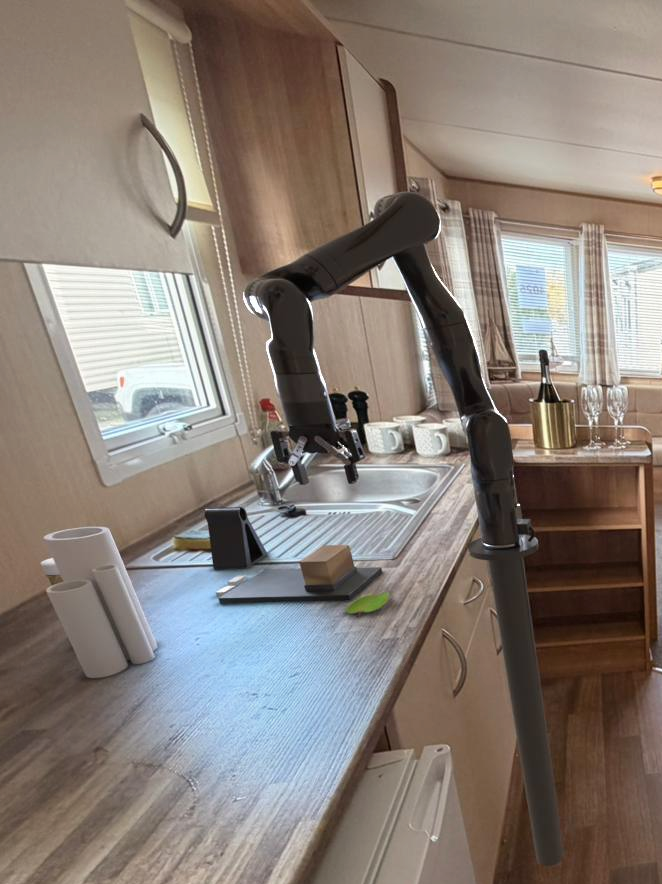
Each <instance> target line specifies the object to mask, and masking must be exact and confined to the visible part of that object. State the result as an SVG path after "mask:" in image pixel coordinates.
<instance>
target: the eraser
mask: <svg viewBox="0 0 662 884" xmlns="http://www.w3.org/2000/svg"><path fill="white" fill-rule="evenodd" d="M298 563H299V567H300V569H301V570H302V574H303V577H304V581H305V585H304V587H305V590H306V591H328V590H335V589H336V588H338V587H339V586H340V585H341V584H343V583H344V582H345V581H346V580H348V579H349V578H350V577H352V576H353V575H354V574H355V573H357V568H358V567H357V566H355V562H354V559H353V555H352V551H351V547H350V545H349V544H328V545H327V544H324V545H322V546H321V547H320V548H318V549H316V550H315V551H313V552H311V553H310V554H309V555H307V556H306V557H304V558H303V559H301V560H299V562H298Z"/></svg>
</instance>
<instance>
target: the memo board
mask: <svg viewBox="0 0 662 884" xmlns="http://www.w3.org/2000/svg"><path fill="white" fill-rule="evenodd" d="M356 568H357V573H355V574H354V575H353V576H352V577H350V578H349V579H348V580H346V581H345V582H344V583H343V584H341V585H340V586H339V587H338V588H336V589H335V590H328V591H306V590H305V587H304V585H305V581H304V577H303V574H302V570H301V568H265V569H264V570H262V571H260V572H259V573H257V574H256V575H255V574H254V576H252V577H250V578H249V579H247V580H246V581H245V582H243V583H242V584H240V585H238V586H235V588H234V589H233V590H231V591H229V592H228V593H226V594H224V595H223V596H221V597H217V598H218V601H219V604H221V605H226V604H227V605H229V604H266V603H267V604H269V603H272V604H273V603H311V602H344V601H345V602H346V601H348V602H349V601H351V600H352V599H354V598H355V597H356V596H357V595H358V594H359V593H360V592H362V591H363V590H364V589H365V588H366V587H367V586H369V585H370V584H371V583H372V582H373V581H374V580H376V579H377V578H378V577H379V576H380V575H381V574H382V573H383V568H382V567H378V566H377V567H374V566H373V567H356Z"/></svg>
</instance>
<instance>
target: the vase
mask: <svg viewBox="0 0 662 884" xmlns="http://www.w3.org/2000/svg"><path fill="white" fill-rule="evenodd" d="M43 540H44V542H45V544H46V546H47V549H48V551H49V553H50V555H51V558H53V560H54V562H55V564H56V566H57V568H58V571H59V573H60V575H61V577H62V579H63V581H64V582H62V583H58V584H55V585H52V586H51V585H50V586H49V587H47V588H45V592H46V594H47V596H48V598H49V600H50V602H51V604H52V607H53V609H54V611H55V613H56V616H57V617H58V619H59V621H60V624H61V626H62V629H63V630H64V632H65V634H66V636H67V638H68V640H69V643H70V645H71V647H72V649H73V651H74V653H75V655H76V658H77V659H78V662H79V664H80V667H81V668H82V670H83V673H84V675H85V676H86V678H90V679H100V678H106V677H109V676H113V675H116V674H118V673H121V672H123V671H124V670H126V669H127V668H128V667H129V663H128V661H130V662H131V664H133V665H138V664H145V663H148V662H150V661H152V660H154V659H155V657H156V656H155V653H154V652H155V650H157V649H158V643H157V641H156V639H155V637H154V634H153V632H152V630H151V627H150V625H149V622H148V620H147V617H146V614H145V612H144V610H143V608H142V605H141V603H140V600H139V598H138V595H137V593H136V591H135V589H134V586H133V584H132V580H131V577H130V575H129V573H128V571H127V568H126V566H125V563H124V561H123V559H122V557H121V554H120V552H119V549H118V547H117V544H116V542H115V539H114V537H113V535H112V533H111V530H110V528H109V527H105V526H82V527H73V528H68V529H62V530H58V531H54V532H50V533H48V534H46V535H44V536H43Z"/></svg>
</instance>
